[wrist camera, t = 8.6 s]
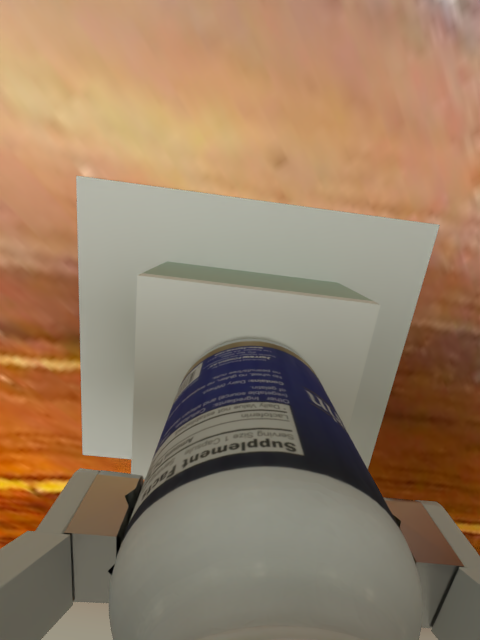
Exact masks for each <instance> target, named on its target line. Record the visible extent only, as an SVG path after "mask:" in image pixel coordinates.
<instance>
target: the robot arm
mask: <svg viewBox="0 0 480 640" xmlns="http://www.w3.org/2000/svg"><path fill="white" fill-rule="evenodd" d="M142 486H143V476H142V475H136V474H127V473H119V472H111V471H102V470H101V471H98V470H90V469H82V468H80V469H79V470H78V471H76V472H75V473H74V474H73V476H72V477H71V479H70V480H69V482H68V483H67V485H66V486H65V488H64V489H63V491H62V492H61V494H60V495H59V496H58V498H57V499H56V501H55V502H54V504H53V505H52V507H51V508H50V510H49V511H48V513H47V514H46V516H45V517H44V519H43V520H42V522H41V523H40V525H39V526H38V528H37V529H36V531H27V532H25V533H24V534H22V535H21V536H19V537H18V538H16V539H15V540H13V541H12V542H10V543H9V544H7V545H6V546H4V547H3V548H1V549H0V640H41V639H42V638H43V636H44V635H45V634H46V633H47V632H48V631H49V630H50V629H51V628H52V627H53V626H54V625H55V624H56V622H57V621H58V620H59V619H60V618H61V617H62V616H63V615H64V614H65V613H66V612H67V611H68V610H69V608H70V607H71V606H72V605H73V602H95V603H109V591H110V584H111V577H112V573H113V569H114V566H115V562H116V558H117V554H118V551H119V549H120V546H121V543H122V540H123V537H124V535H125V532H126V529H127V526H128V524H129V521H130V518H131V516H132V513H133V510H134V507H135V505H136V502H137V499H138V497H139V494H140V492H141V489H142ZM383 498H384V497H383ZM384 500H385V502H386V503H387V505H388V507H389V509H390V511H391V513H392V515H393V516H394V518H395V520H396V522H397V524H398V526H399V528H400V530H401V532H402V534H403V536H404V538H405V540H406V542H407V544H408V547H409V549H410V551H411V553H412V556H413V559H414V562H415V565H416V568H417V571H418V575H419V580H420V585H421V593H422V624H421V627H424V628H432V630H431V631H432V632H433V634H434V635H435V636H436V637H437V638H438V640H480V556H479V555H478V553H477V552H476V550H475V549H474V548H473V546H472V545H471V544H470V542H469V541H468V540H467V538H466V537H465V536H464V534H463V533H462V532H461V530H460V529H459V528H458V526H457V525H456V524H455V522H454V521H453V520H452V518H451V517H450V516H449V514H448V513H447V512H446V510H445V509H444V508H443V507H442V506H441V505H440V504H439V503H437V502H434V501H421V500H408V499H396V498H384Z"/></svg>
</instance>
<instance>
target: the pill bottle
mask: <svg viewBox="0 0 480 640" xmlns="http://www.w3.org/2000/svg"><path fill="white" fill-rule="evenodd" d="M109 618H110V625H111V631H112V636H113V640H419V636H420V631H421V624H422V593H421V585H420V580H419V575H418V571H417V568H416V565H415V562H414V559H413V556H412V553H411V551H410V549H409V547H408V544H407V542H406V540H405V538H404V536H403V534H402V532H401V530H400V528H399V526H398V524H397V522H396V520H395V518H394V516H393V515H392V513H391V511H390V509H389V507H388V505H387V503H386V502H385V500H384V498H383V497H382V495H381V493H380V491H379V489H378V487H377V486H376V484H375V482H374V480H373V478H372V477H371V475H370V473H369V471H368V469H367V467H366V465H365V464H364V462H363V460H362V458H361V456H360V454H359V453H358V451H357V449H356V447H355V445H354V443H353V441H352V440H351V438H350V436H349V434H348V432H347V430H346V429H345V427H344V425H343V423H342V421H341V419H340V417H339V415H338V414H337V412H336V410H335V408H334V406H333V404H332V403H331V401H330V399H329V397H328V395H327V393H326V392H325V390H324V388H323V386H322V384H321V382H320V380H319V378H318V377H317V375H316V374H315V372H314V370H313V369H312V368H311V366H310V365H309V364H308V363H307V362H306V361H305V360H304V359H303V358H302V357H301V356H300V355H299V354H298V353H296V352H295V351H293V350H291V349H290V348H288V347H286V346H283V345H281V344H279V343H275V342H272V341H267V340H261V339H241V340H234V341H231V342H227V343H224V344H221V345H219V346H217V347H215V348H213V349H211V350H210V351H208V352H207V353H205V354H204V355H203V356H201V357H200V358H199V359H198V360H197V361H196V362H195V363H194V364H193V365H192V366H191V367H190V369H189V370H188V372H187V373H186V375H185V377H184V379H183V380H182V383H181V385H180V387H179V389H178V392H177V394H176V397H175V399H174V402H173V405H172V408H171V410H170V413H169V416H168V418H167V421H166V424H165V426H164V429H163V432H162V435H161V437H160V440H159V443H158V445H157V448H156V451H155V454H154V456H153V459H152V462H151V465H150V467H149V470H148V473H147V475H146V478H145V480H144V483H143V486H142V489H141V492H140V494H139V497H138V499H137V502H136V505H135V507H134V510H133V513H132V516H131V518H130V521H129V524H128V526H127V529H126V532H125V535H124V537H123V540H122V543H121V546H120V549H119V551H118V554H117V558H116V562H115V566H114V569H113V573H112V577H111V584H110V591H109Z"/></svg>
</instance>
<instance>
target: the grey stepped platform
mask: <svg viewBox="0 0 480 640" xmlns="http://www.w3.org/2000/svg"><path fill="white" fill-rule="evenodd" d="M76 182H77V226H78V271H79V315H80V359H81V403H82V448H83V455H91V456H101V457H112V458H123V459H132V461H131V474H136V475H142V476H143V479H145V478H146V475H147V473H148V470H149V467H150V465H151V462H152V459H153V456H154V454H155V451H156V448H157V445H158V443H159V440H160V437H161V435H162V432H163V429H164V426H165V424H166V421H167V418H168V416H169V413H170V410H171V408H172V405H173V402H174V399H175V397H176V394H177V392H178V389H179V387H180V385H181V383H182V380H183V379H184V377H185V375H186V373H187V372H188V370H189V369H190V367H191V366H192V365H193V364H194V363H195V362H196V361H197V360H198V359H199V358H200V357H201V356H203V355H204V354H205V353H207V352H208V351H210V350H211V349H213V348H215V347H217V346H219V345H221V344H224V343H227V342H231V341H234V340H241V339H261V340H267V341H272V342H275V343H279V344H281V345H283V346H286V347H288V348H290V349H291V350H293V351H295V352H296V353H298V354H299V355H300V356H301V357H302V358H303V359H304V360H305V361H306V362H307V363H308V364H309V365H310V366H311V368H312V369H313V370H314V372H315V374H316V375H317V377H318V378H319V380H320V382H321V384H322V386H323V388H324V390H325V392H326V393H327V395H328V397H329V399H330V401H331V403H332V404H333V406H334V408H335V410H336V412H337V414H338V415H339V417H340V419H341V421H342V423H343V425H344V427H345V429H346V430H347V432H348V434H349V436H350V438H351V440H352V441H353V443H354V445H355V447H356V449H357V451H358V453H359V454H360V456H361V458H362V460H363V462H364V464H365V465H366V467H367V469H368V467H369V464H370V460H371V457H372V453H373V450H374V447H375V443H376V440H377V436H378V433H379V430H380V426H381V423H382V419H383V416H384V413H385V409H386V406H387V402H388V399H389V396H390V392H391V389H392V385H393V382H394V379H395V375H396V372H397V368H398V365H399V362H400V358H401V355H402V351H403V348H404V345H405V341H406V338H407V334H408V331H409V328H410V324H411V321H412V317H413V314H414V311H415V307H416V304H417V300H418V297H419V294H420V290H421V287H422V283H423V280H424V277H425V273H426V270H427V266H428V263H429V260H430V256H431V253H432V249H433V246H434V243H435V239H436V236H437V232H438V229H439V226H440V225H437V224H429V223H422V222H414V221H407V220H400V219H392V218H385V217H378V216H370V215H363V214H355V213H348V212H341V211H333V210H326V209H318V208H311V207H304V206H296V205H289V204H282V203H274V202H267V201H259V200H252V199H245V198H237V197H230V196H222V195H215V194H208V193H200V192H193V191H185V190H178V189H171V188H163V187H156V186H149V185H141V184H134V183H126V182H119V181H112V180H104V179H97V178H89V177H82V176H76Z"/></svg>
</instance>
